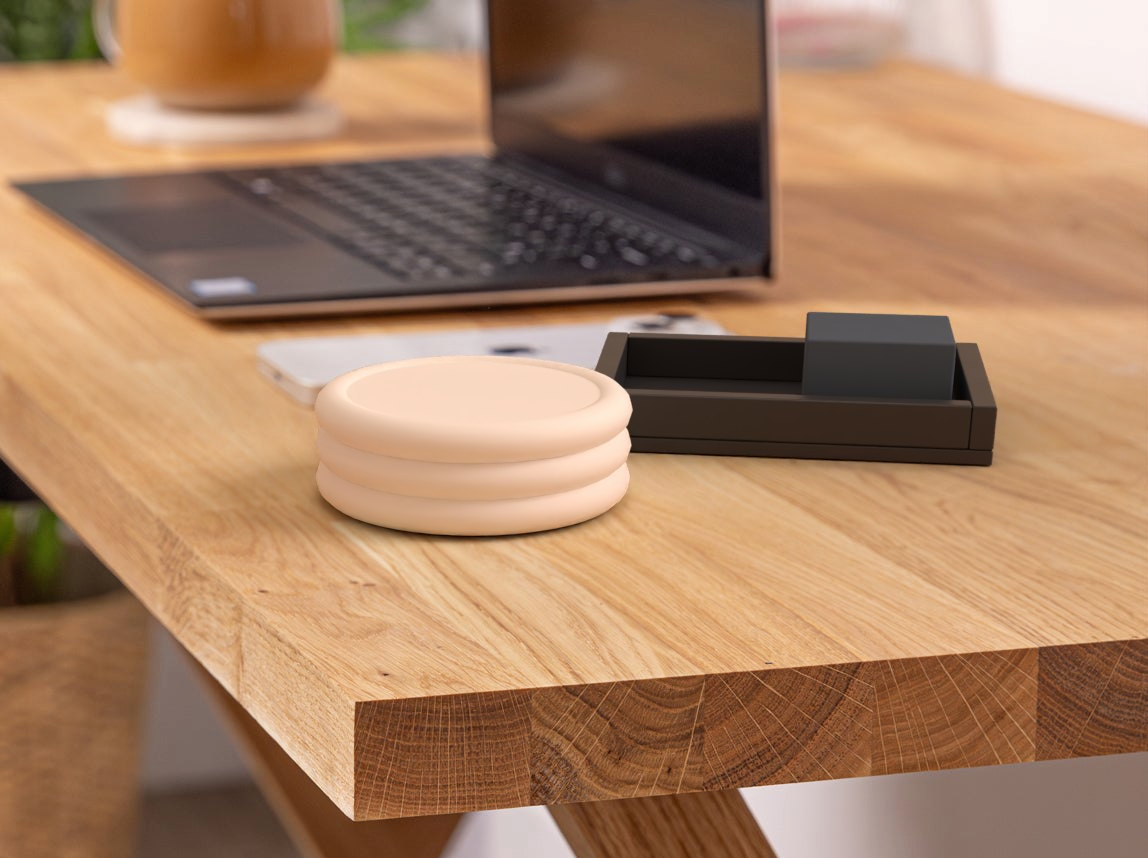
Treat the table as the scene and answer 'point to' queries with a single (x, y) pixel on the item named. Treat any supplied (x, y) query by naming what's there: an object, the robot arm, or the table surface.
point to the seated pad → (878, 356)
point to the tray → (786, 404)
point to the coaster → (473, 444)
